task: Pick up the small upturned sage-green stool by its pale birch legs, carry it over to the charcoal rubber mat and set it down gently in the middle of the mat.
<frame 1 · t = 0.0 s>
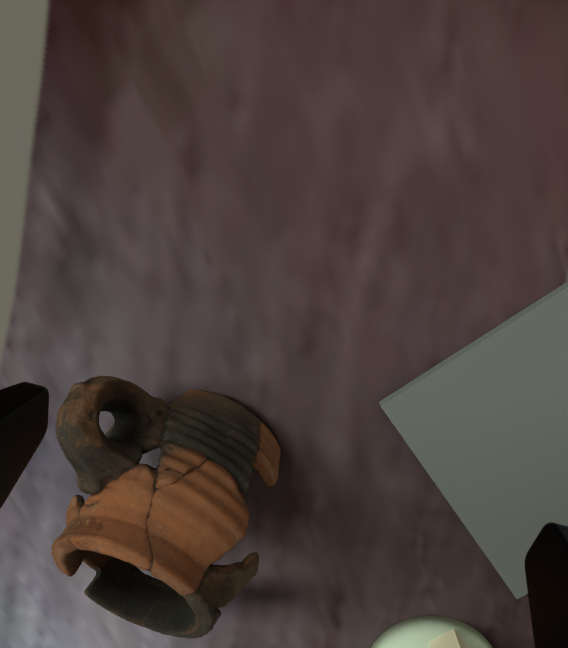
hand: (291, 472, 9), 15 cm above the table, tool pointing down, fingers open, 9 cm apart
mat: (557, 434, 25), on the table
pottery mug: (179, 459, 27), on the table
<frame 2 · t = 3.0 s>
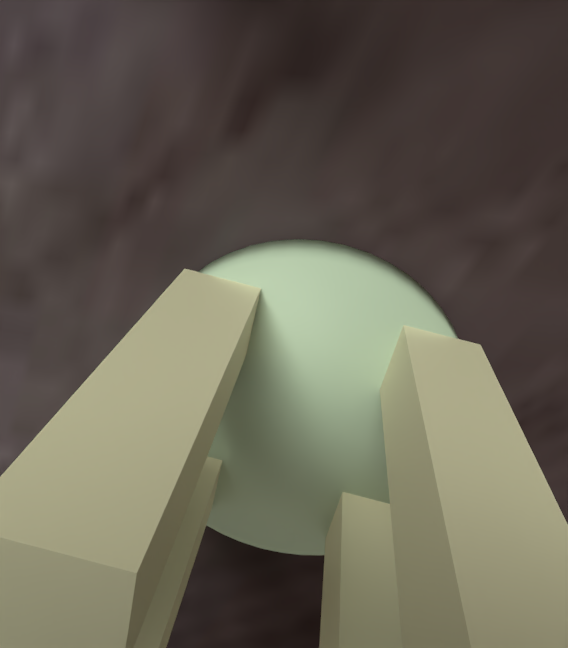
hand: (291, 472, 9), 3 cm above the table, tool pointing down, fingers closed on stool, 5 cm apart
stool: (301, 394, 12), on the table, touching gripper
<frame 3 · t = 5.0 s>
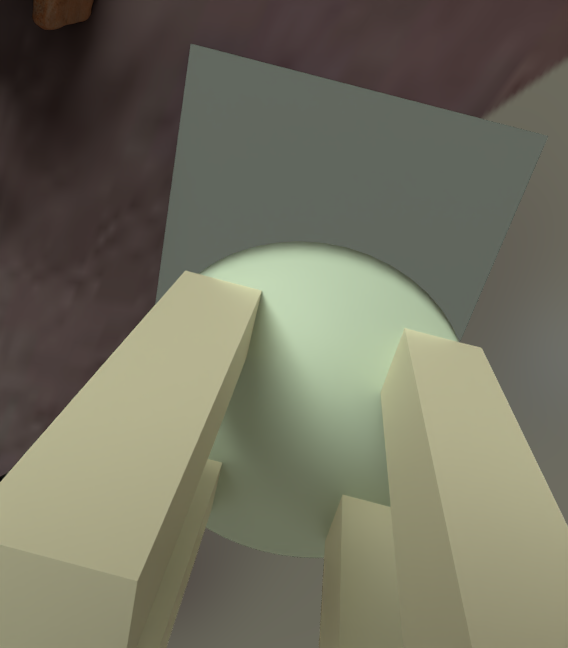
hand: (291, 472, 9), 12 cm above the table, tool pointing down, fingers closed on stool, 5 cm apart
stool: (302, 396, 12), point 10 cm above the table, touching gripper
mat: (322, 256, 20), on the table
when the fingers open (3 cm above the table, at t = 7.0 s): stool stays where it is, resting on mat.
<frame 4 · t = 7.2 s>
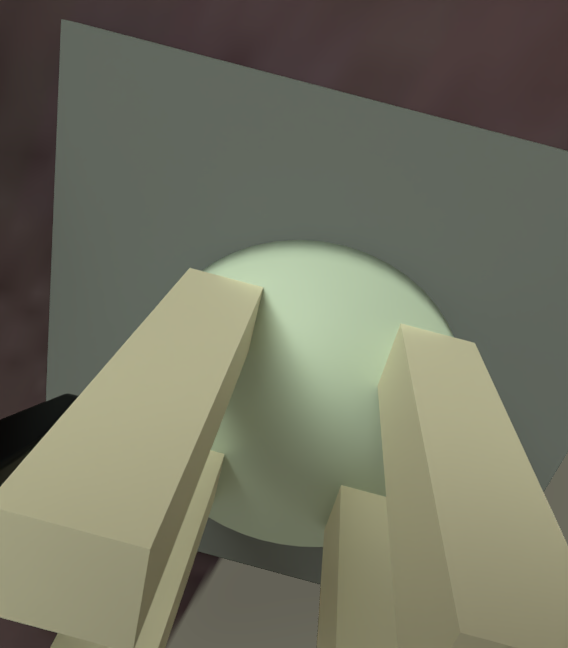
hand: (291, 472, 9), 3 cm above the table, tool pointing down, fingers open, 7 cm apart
stool: (302, 390, 12), point 1 cm above the table, touching mat
mat: (308, 372, 12), on the table
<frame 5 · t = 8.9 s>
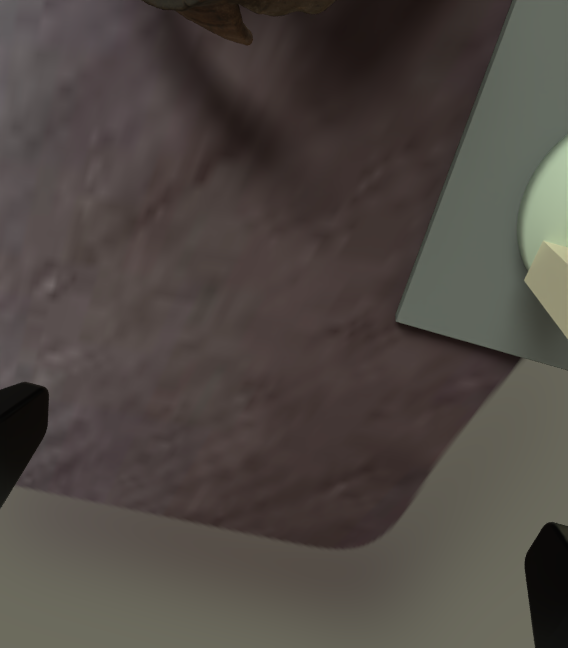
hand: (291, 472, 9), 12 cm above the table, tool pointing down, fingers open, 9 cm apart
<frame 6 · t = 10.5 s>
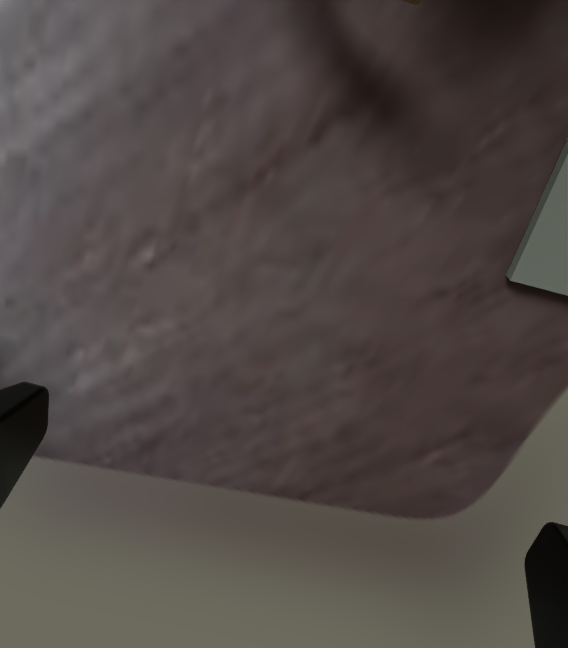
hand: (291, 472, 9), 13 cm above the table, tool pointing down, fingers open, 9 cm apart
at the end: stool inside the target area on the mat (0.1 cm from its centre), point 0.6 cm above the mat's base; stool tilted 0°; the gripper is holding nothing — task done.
